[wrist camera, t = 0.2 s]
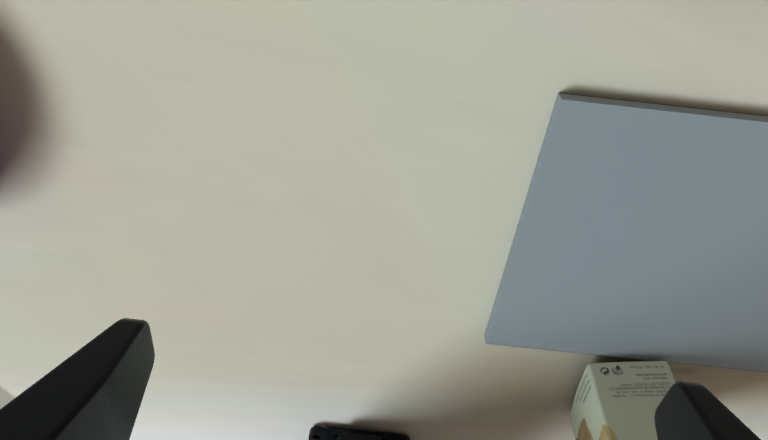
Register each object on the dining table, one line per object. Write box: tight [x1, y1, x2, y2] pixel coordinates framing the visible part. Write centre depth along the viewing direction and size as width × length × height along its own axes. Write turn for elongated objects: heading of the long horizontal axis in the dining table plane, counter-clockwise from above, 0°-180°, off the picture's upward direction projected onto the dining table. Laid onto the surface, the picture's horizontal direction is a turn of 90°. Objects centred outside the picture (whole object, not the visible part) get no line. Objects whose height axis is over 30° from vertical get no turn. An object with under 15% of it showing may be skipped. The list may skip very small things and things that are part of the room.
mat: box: [485, 93, 768, 372], centre depth 26 cm, size 14×16×1 cm
